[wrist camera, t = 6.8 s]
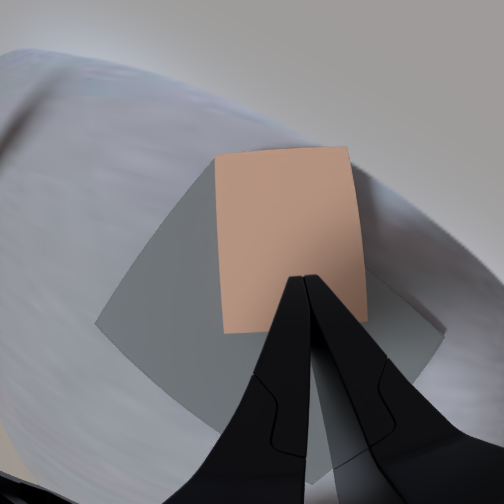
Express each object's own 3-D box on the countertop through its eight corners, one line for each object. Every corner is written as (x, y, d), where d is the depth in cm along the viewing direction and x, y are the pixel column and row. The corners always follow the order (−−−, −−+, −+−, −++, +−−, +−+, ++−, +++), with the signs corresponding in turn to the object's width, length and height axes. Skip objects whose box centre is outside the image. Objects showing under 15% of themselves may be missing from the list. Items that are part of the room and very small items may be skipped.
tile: (367, 321, 12) (346, 146, 13) (223, 333, 13) (214, 155, 14) (357, 316, 14) (339, 159, 15) (229, 327, 15) (220, 168, 16)
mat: (440, 335, 14) (444, 336, 14) (311, 479, 14) (312, 484, 13) (218, 160, 16) (216, 156, 16) (99, 322, 16) (94, 323, 15)
